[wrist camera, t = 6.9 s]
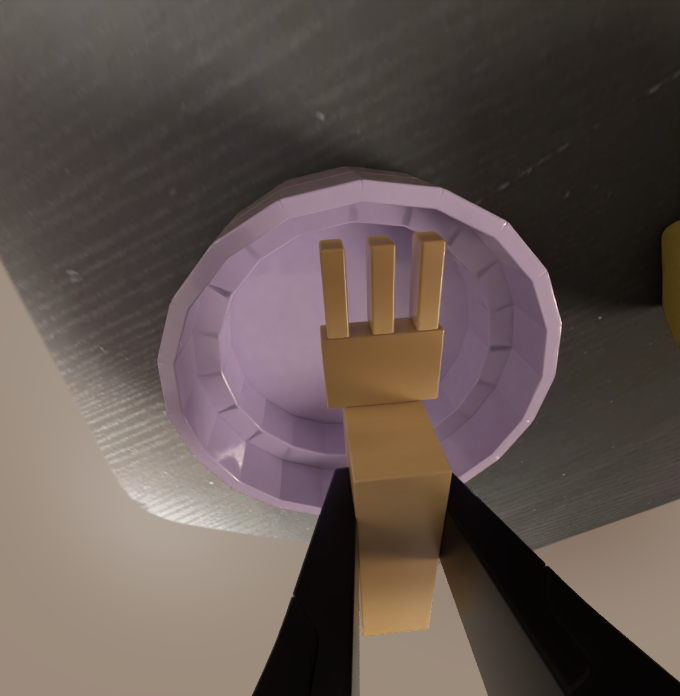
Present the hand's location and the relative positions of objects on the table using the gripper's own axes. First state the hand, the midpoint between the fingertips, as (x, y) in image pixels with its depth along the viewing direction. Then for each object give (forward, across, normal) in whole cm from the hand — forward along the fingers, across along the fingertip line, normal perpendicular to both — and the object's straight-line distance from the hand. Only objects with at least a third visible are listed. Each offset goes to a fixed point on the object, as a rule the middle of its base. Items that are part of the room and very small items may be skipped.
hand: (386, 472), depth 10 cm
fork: (+1, 0, 0) cm, 1 cm away
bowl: (+10, 0, +1) cm, 10 cm away
